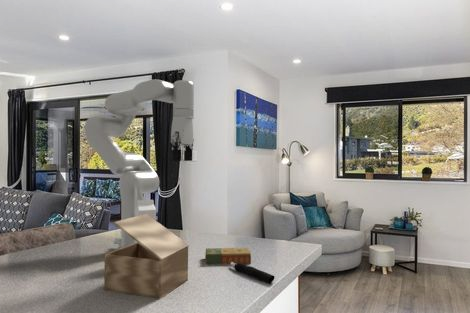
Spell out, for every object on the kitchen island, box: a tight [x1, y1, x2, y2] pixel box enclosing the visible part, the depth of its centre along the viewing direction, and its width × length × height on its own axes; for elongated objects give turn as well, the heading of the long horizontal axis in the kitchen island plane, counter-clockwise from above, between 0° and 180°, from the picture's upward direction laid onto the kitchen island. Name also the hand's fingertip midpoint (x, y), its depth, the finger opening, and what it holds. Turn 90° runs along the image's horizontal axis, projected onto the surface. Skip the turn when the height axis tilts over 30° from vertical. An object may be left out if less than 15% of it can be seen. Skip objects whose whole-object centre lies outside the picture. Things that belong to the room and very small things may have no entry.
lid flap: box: [113, 214, 190, 260], centre depth 108 cm, size 17×16×1 cm
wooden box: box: [103, 242, 189, 300], centre depth 109 cm, size 18×16×10 cm
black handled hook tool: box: [229, 262, 275, 284], centre depth 119 cm, size 22×4×3 cm, turn 39°
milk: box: [135, 199, 157, 243], centre depth 132 cm, size 6×6×22 cm
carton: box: [204, 247, 252, 265], centre depth 135 cm, size 8×16×4 cm, turn 95°
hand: (182, 160), depth 137 cm, fingers open, 9 cm apart
